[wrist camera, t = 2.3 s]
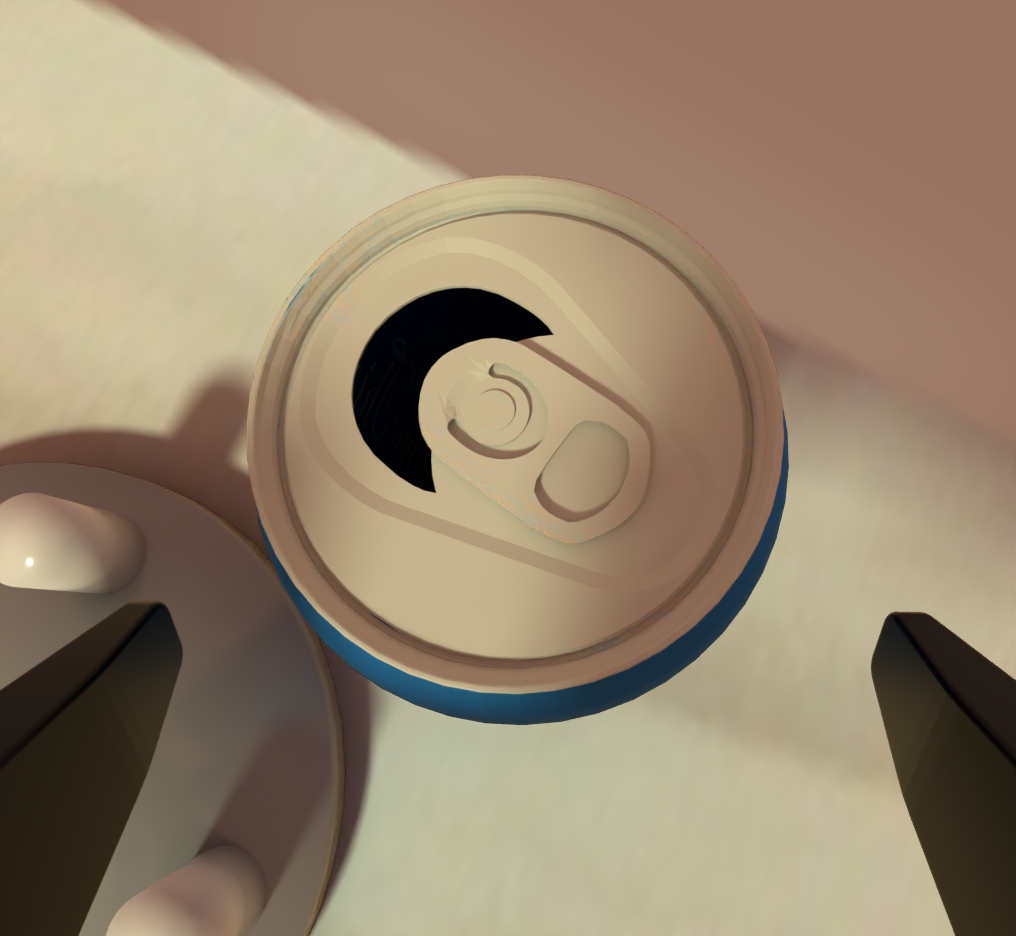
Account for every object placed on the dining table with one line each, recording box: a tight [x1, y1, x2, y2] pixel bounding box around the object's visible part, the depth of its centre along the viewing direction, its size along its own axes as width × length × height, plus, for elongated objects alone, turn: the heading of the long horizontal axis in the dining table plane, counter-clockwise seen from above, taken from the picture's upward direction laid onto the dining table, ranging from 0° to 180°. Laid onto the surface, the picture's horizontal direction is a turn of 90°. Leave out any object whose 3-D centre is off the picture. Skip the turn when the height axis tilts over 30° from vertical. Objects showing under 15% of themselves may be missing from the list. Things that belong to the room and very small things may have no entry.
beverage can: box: [246, 175, 789, 725], centre depth 14 cm, size 6×6×12 cm
